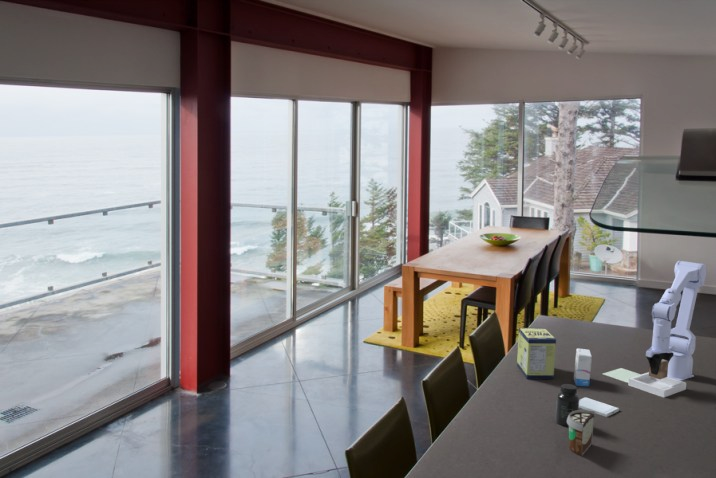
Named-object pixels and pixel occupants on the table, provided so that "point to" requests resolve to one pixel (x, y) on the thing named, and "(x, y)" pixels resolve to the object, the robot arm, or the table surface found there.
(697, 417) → the table surface
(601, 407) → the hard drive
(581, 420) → the food container
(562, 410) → the supplement bottle
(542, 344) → the protein box
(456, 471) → the table surface
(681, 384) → the grey bin
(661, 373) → the walnut block
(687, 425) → the table surface
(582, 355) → the ink box
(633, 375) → the sage pad
